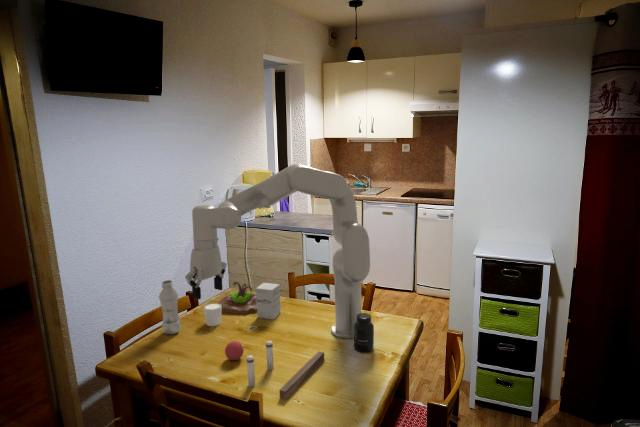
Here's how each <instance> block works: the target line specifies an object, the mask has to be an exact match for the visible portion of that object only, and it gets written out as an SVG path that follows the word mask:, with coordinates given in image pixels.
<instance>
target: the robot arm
mask: <svg viewBox="0 0 640 427" xmlns="http://www.w3.org/2000/svg"><path fill="white" fill-rule="evenodd" d="M296 192H300V193H303V194H307V195H310V196H315V197H318V198H319V197H320V198H323V199H327V200H329V202H330V205H331V211H332V225H333V226H332V227H333V228H332V230H333V231H332V232H333V238H334V240H335V241H336V242H337V243H338V244H339V245H341V247H340V248H338V250H336V251H335V252H334V254H333V256H332V270H333V277H334V312H335V313H334V314H335V317H334V318H335V321H334V322H335V323H334V324H332V326H331V333H332V334H333V335H334V336H335V337H337V338H342V339H354V324H355V322H357V315H358V314H360V313H362V281H365V280H366V278H367V277H368V275H369V273H370V270H371V269H370V268H371V253H370V251H371V250H370V238H369V235H368V231H367V230H366V228H365V227H364V225H361V223H359V220H358V211H357V202H356V199H355V195H354V193H353V191H352V189H351V187H350V185H349V184H348V181H347V179H345V177H344V176H342V174H339V173H335V172H332V171H328V170H325V171H324V170H320V169H318V168H313V167H310V166H307V165H303V164H300V163H294V164H291V165H289V166H287V167H285V168H284V169H282V170H280V171H279V172H276V173H275V174H273V175H271V176H270V177H268V178H266V179H264V180H263V181H260V182H258V183H257V184H255V185H252V186H251V187H248V188H246V189H244V190H242V191H240V192H238V193H236V194H234V195H233V196H231V197H229V198H228V199H226V200H223V201H222V202H221V203H220V204H218V206H217V207H215V206H214V205H210V204H209V205H208V204H203V205H196V206H194V207H193V208H192V211H191V215H192V237H193V238H192V240H193V248H192V249H191V252H190V264H189V272H188V273H187V274H186V275H185V277H184V278H185V280H186V282H187V284H188V286H190V287H191V290H192V293H191V294H192V298H193V299H197V300H201V298H202V293H201V292H202V290H201V289H202V288H201V286H200V284H202V283H201V282H202V281H205V280H208V279H210V278H213V283H214V284H213V286H214V287H213V288H214V289H215V290H219V291H222V290H223V278H224V274H225V273H226V269H227V264H228V263H226V262H224V261H222V258H221V252H220V251H221V250H220V247H219V244H218V243H219V242H218V241H219V237H218V229H223V230H233V229H235V228H237V227H238V226H240V224H241V222H242V216H244V215H246V214H247V213H250V212H251V211H254V210H256V209H260V208H267V207H271V206H273V205H276V204H277V203H280V202H281V201H282V200H284V199H286V198H288V197H289V196H291V195H293V194H294V193H296Z"/></svg>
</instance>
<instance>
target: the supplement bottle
mask: <svg viewBox="0 0 640 427" xmlns="http://www.w3.org/2000/svg"><path fill="white" fill-rule="evenodd" d="M374 332H375V326H374V323H372V316H371V314H370V313H366V312H361V313H360V314H358V315H357V322H355V324H354V338H353V349H354V350H355V351H356V352H357V353H360V354H368V353H370V352H372V351H373V350H374V347H375V346H374V341H375V334H374Z"/></svg>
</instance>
